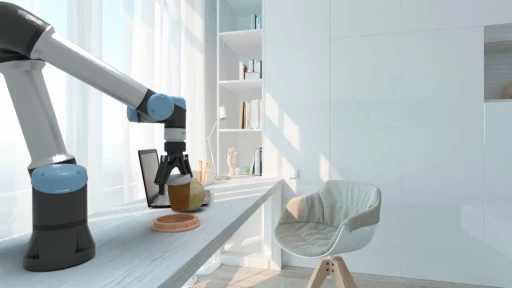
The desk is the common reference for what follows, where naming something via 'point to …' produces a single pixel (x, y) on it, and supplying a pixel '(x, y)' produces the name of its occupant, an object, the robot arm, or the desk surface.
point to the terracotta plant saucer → (175, 223)
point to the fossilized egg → (196, 195)
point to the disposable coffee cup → (179, 191)
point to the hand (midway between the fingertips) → (175, 201)
